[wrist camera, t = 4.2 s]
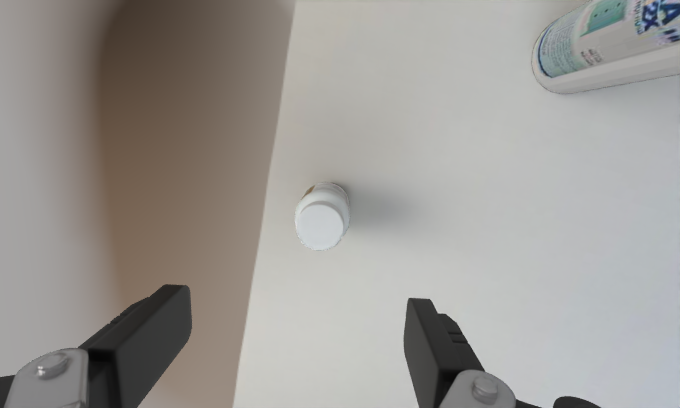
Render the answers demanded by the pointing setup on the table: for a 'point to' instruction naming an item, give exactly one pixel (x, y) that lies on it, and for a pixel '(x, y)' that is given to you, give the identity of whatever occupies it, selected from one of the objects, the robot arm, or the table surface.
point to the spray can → (609, 45)
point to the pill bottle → (322, 216)
